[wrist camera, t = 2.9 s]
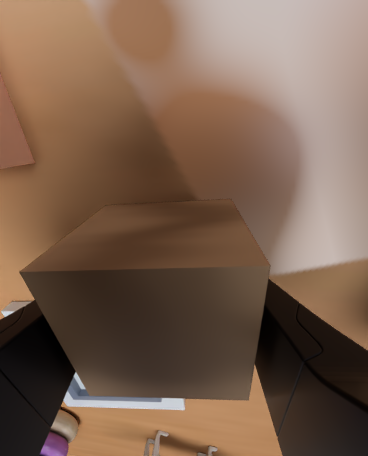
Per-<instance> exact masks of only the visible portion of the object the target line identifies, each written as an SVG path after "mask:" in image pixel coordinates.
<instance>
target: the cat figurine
mask: <svg viewBox="0 0 368 456" xmlns="http://www.w3.org/2000/svg"><path fill="white" fill-rule="evenodd" d="M160 435H163V436H166V437H167V436H168V435H169V434H168V433H167V432H163V431H160V430H159V431H158V432H157V435H156V438H155V440H153V439H148V440H147V443H146V446H145V451H144V456H149V444H150V443H153V444H154V448H153V453H152V456H160V455H159V443H160ZM212 451H217V448H216V447H212V446H209V447H208V456H212ZM197 456H206V454H203V453H199V452H198V453H197Z"/></svg>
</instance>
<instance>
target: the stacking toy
mask: <svg viewBox="0 0 368 456" xmlns="http://www.w3.org/2000/svg"><path fill="white" fill-rule="evenodd" d="M77 431H78V423H77V421H76V419H75V418H74V417H73V416H72V415H70V414H69V413H67V412H65V411H63V410H60V409H59V411H58V414H57V416H56V418H55V420H54V423H53V425H52V427H51V430H50V432H49V434H48V437H47V439H46V441H45V444H44V446H43V448H42V450H41V453H40V455H39V456H66V455H67V453H68V443H70V442H71V441H72V440H73V439H74V438H75V436H76V434H77Z"/></svg>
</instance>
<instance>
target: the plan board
mask: <svg viewBox="0 0 368 456" xmlns="http://www.w3.org/2000/svg"><path fill="white" fill-rule="evenodd" d="M30 302H32V301H29V302H11V303H10V304H9V305H7V306H6V307H5V308H4V309H3V310H2V311H1V312H2V314H3V315H4V317H6V316H8V315H10V314H11V313H13V312H15V311H17V310H18V309H20V308H22V307H23V306H26V305H27V304H29V303H30ZM63 401H64V402H65V403H66V405H67V406H75V407H107V408H138V409H169V410H185V399H182V398H147V397H113V396H89V394H88V392H87V390H86V389H85V387H84V385H83V383H82V382H81V380H80V378H79V376H78V375H77V373H75V375H74V377H73V379H72V382H71V384H70V386H69V388H68V391H67V393H66V395H65V398H64V400H63Z"/></svg>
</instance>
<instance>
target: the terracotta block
mask: <svg viewBox="0 0 368 456" xmlns="http://www.w3.org/2000/svg"><path fill="white" fill-rule="evenodd" d="M33 163H35V162H34V159H33V156H32V154H31V151H30V149H29V146H28V143H27V141H26V138H25V136H24V133H23V131H22V128H21V125H20V123H19V120H18V118H17V115H16V112H15V110H14V107H13V105H12V102H11V100H10V97H9V94H8V92H7V89H6V87H5V84H4V82H3V79H2V76H1V74H0V169H3V168H9V167H15V166H21V165H27V164H33Z"/></svg>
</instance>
